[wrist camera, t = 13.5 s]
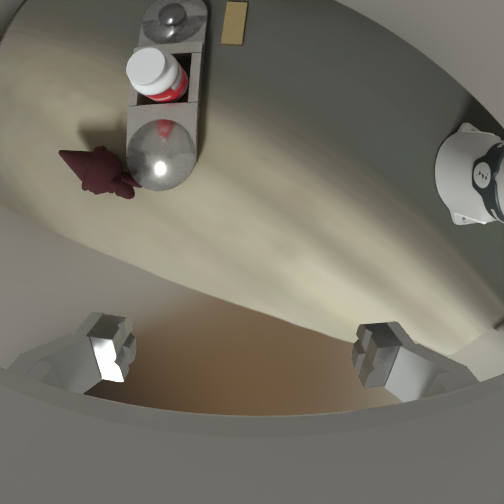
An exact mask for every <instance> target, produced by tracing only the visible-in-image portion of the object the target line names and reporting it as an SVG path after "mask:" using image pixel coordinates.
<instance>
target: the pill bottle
mask: <svg viewBox="0 0 504 504" xmlns="http://www.w3.org/2000/svg"><path fill="white" fill-rule="evenodd" d="M126 71H127V75H128V77H129V79H130V81H131V84H132V86H133V87H134V88H135V89H136V90H137V91H138V92H140V93H141V94H143V95H145V96H147V97H149V98H151V99H153V100H154V101H156V102H159V103H165V104H167V103H172V102H175V101H177V100H178V99H180V98H181V97H182V96H183V95H184V94H185V92H186V90H187V88H188V83H189V81H188V76H187V74H186V72H185V71H184V69H183V68H182V67H181V65H180V64H179V63H178V61H177V60H176V59H175V57H174V56H173V55H171V54H170V53H169V52H166V51H163V50H158V49H156V48H144V49H141V50H139V51H137V52H136V53H135V54H133V55H132V57H131V58H130V59H129V61H128V64H127V69H126Z"/></svg>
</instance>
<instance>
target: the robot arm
mask: <svg viewBox="0 0 504 504" xmlns="http://www.w3.org/2000/svg"><path fill="white" fill-rule="evenodd" d="M500 139H501V138H500V137H499V136H495V135H494V134H493V133H487V132H481V131H480V130H478V129H477V128H475V127H474V126H473V125H471V124H470V123H465V122H464V123H463V124H462V125H461V126H460V128H459V129H458V131H457V132H456V133H455V134H453V135H451V136H450V137H448V138H447V139H446V140H445V141H444V142H443V144H442V146H441V147H440V149H439V152H438V155H437V158H436V164H435V179H436V185H437V189H438V192H439V194H440V197H441V198H442V200H443V202H444V203H445V204H446V206H447V207H448V208H449V210H450V213H451V217H452V220H453V222H454V223H455V224H457V225H464V224H470V223H476V222H479V223H482V224H486V222H492V221H496V220H499V221H500V222H503V223H504V141H503V140H500ZM132 328H133V325H132V320H131V318H130V317H128V316H120V315H113V314H105V313H97V312H92V313H91V314H90V315H89V316H88V317H87V318H86V320H85V321H84V322H83V323H82V324H81V325H80V327H79V328H78V329H77V330H76V331H75V333H74V334H68V335H65V336H63V337H60V338H58V339H55V340H53V341H51V342H48V343H46V344H43V345H41V346H38V347H36V348H34V349H31V350H29V351H26V352H24V353H22V354H20V355H19V356H18V358H17V359H16V360H15V361H14V362H13V363H12V364H11V366H10V367H9V368H8V369H7V370H6V369H3V368H1V367H0V504H504V374H502V375H499V376H496V377H494V378H491V379H488V380H485V381H482V382H479V381H478V380H477V378H476V377H475V376H474V375H473V374H472V372H471V371H470V370H469V369H468V368H467V366H464V365H462V364H460V363H458V362H456V361H454V360H452V359H449V358H447V357H445V356H443V355H441V354H439V353H437V352H435V351H433V350H430V349H428V348H426V347H424V346H422V345H420V344H415V343H414V342H413V340H412V339H411V338H410V337H409V335H408V334H407V333H406V332H405V330H404V329H403V328H402V327H401V325H400V324H399V323H398V322H396V321H395V322H385V323H374V324H360V325H359V327H358V329H357V333H356V335H357V337H358V340H357V341H356V342H355V343H354V344H353V348H352V363H353V366H354V368H355V369H357V370H358V371H360V372H359V375H358V377H359V379H360V381H361V383H362V386H363V387H364V388H372V387H382V386H385V388H386V389H387V390H389V391H390V392H391V393H393V394H394V395H395V396H396V397H398V398H399V399H400V400H401V401H403V403H398V404H392V405H387V406H381V407H375V408H368V409H361V410H354V411H345V412H335V413H324V414H312V415H292V416H231V415H228V416H227V415H211V414H199V413H187V412H177V411H169V410H162V409H155V408H148V407H141V406H135V405H130V404H124V403H119V402H114V401H109V400H105V399H100V398H96V397H91V396H87V395H84V394H83V393H84V392H85V391H87V390H88V389H90V388H91V387H92V386H94V385H95V384H96V383H98V382H99V381H101V380H102V379H108V380H114V381H121V382H123V381H124V379H125V376H126V375H127V372H128V371H129V369H128V364H130V363H132V362H133V360H134V358H135V353H136V341H135V337H134V336H133V335H132V334H131V330H132Z"/></svg>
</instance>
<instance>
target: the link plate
mask: <svg viewBox="0 0 504 504" xmlns="http://www.w3.org/2000/svg"><path fill="white" fill-rule="evenodd" d="M246 11H247V3H245V2H227V7H226V13H225V19H224V26H223V32H222V39H221V45H231V46H242V41H243V33H244V26H245V18H246Z"/></svg>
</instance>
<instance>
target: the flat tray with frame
mask: <svg viewBox="0 0 504 504" xmlns="http://www.w3.org/2000/svg"><path fill="white" fill-rule="evenodd" d="M207 26H208V11H207V8H206V5H205V3H204V2H203V1H202V0H157V1H156V2H154V3H153V4H152V5H151V6H150V7H149V8H148V10H147V11H146V13H145V14H144V17H143V20H142V25H141V31H140V37H139V44H138V48H134V53H133V54H135V53H136V52H137V51H139V50H141V49H144V48H156V49H158V50H163V51H166V52H169V53H170V54H171V55H173V56H174V57H175V59H176V60H180V59H191V70H190V82H189V96H188V102H189V103H167V104H152V105H144V95H143V94H141V93H140V92H138V91H137V90H136V89H135V88H134V87H133V86H132V84H131V81H130V89H129V101H128V106H129V107H128V117H127V141H126V161H127V166H128V170H129V172H130V174H131V175H132V177H133V178H134V180H135V181H136V182H137V183H138V184H140V185H141V186H143V187H145V188H147V189H150V190H154V191H164V190H169V189H172V188H174V187H176V186H178V185H180V184H181V183H183V182H184V181H185V180H186V179H187V178H188V177H189V176H190V174H191V173H192V171H193V169H194V167H195V164H196V160H197V144H198V121H199V117H200V115H201V98H202V83H203V69H204V57H205V46H206V35H207Z"/></svg>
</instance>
